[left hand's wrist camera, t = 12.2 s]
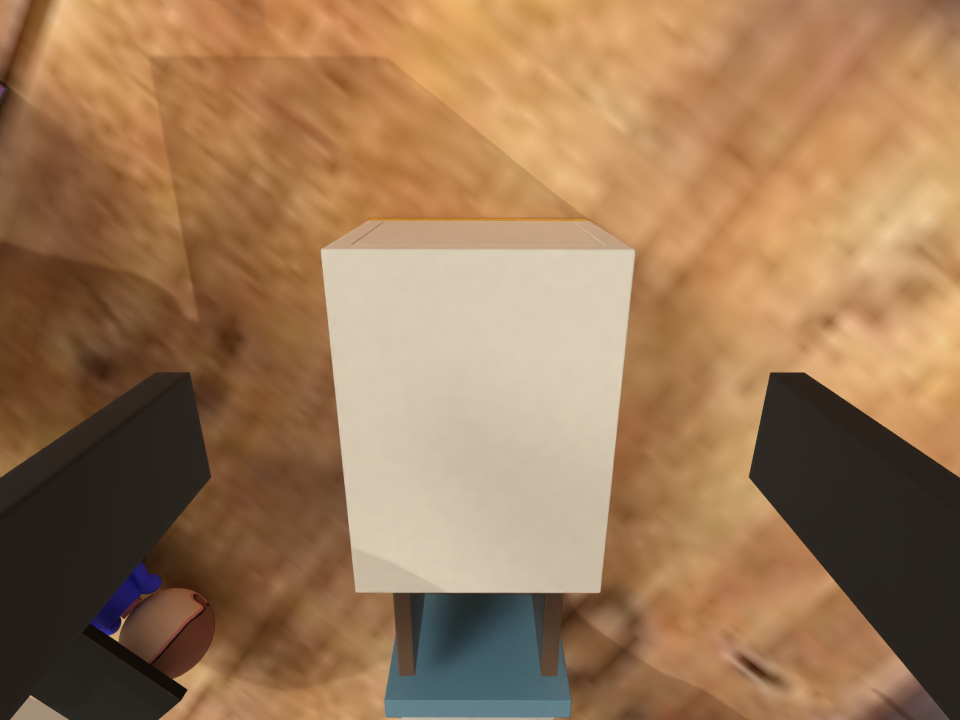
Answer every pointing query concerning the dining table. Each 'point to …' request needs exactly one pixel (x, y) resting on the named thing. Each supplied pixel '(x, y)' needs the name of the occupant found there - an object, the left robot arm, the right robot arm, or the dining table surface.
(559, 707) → the drawer
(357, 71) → the dining table surface
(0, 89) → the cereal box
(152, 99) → the dining table surface
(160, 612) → the figurine character
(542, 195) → the dining table surface
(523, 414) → the cabinet
